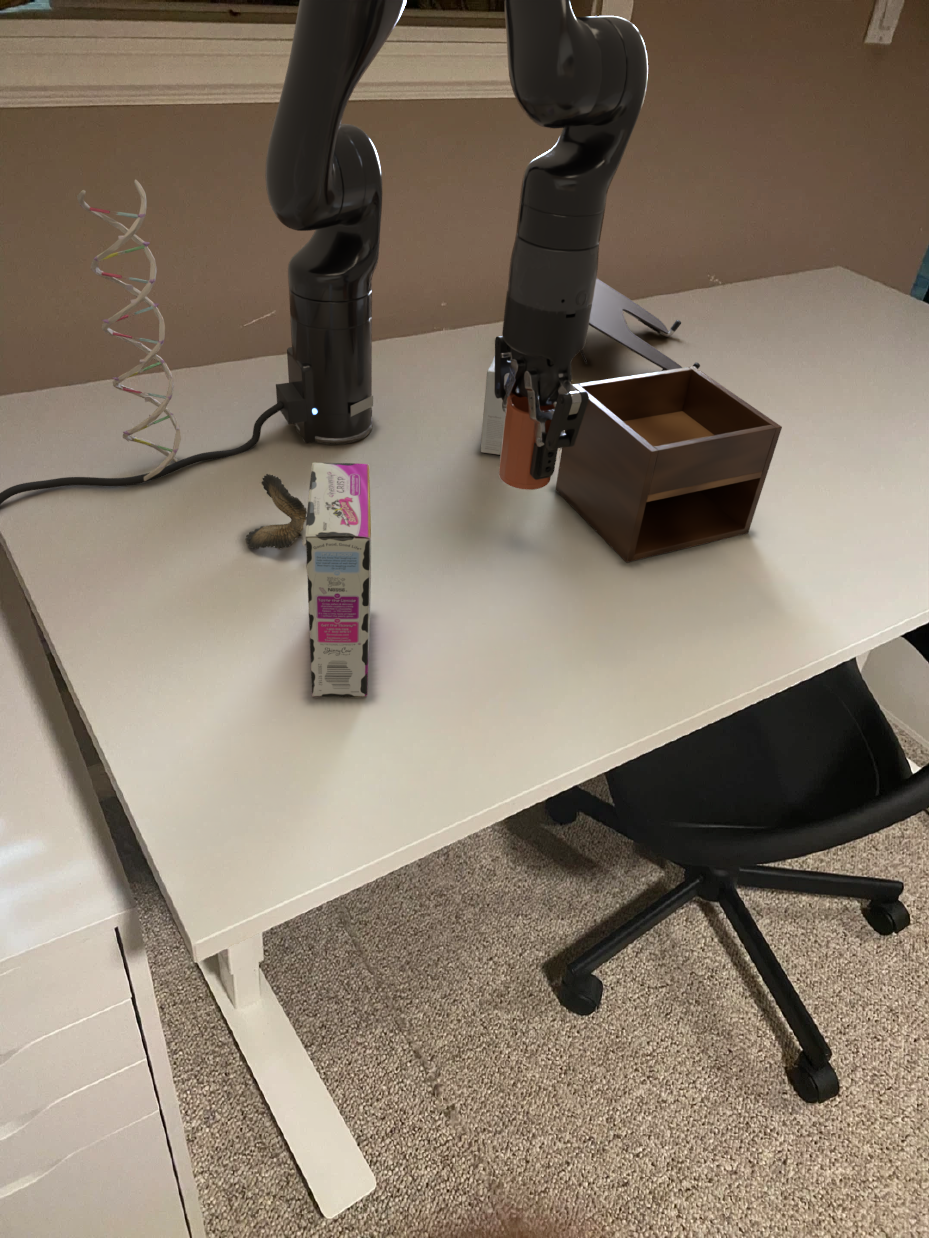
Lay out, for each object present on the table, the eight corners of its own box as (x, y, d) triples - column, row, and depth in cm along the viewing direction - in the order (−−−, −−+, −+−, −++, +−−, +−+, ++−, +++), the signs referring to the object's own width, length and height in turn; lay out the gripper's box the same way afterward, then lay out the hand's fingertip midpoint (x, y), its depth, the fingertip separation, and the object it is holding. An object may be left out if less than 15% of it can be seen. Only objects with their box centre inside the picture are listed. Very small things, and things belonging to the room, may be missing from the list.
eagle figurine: (347, 514, 96) (266, 486, 96) (345, 486, 89) (257, 456, 89) (321, 579, 94) (238, 551, 93) (317, 556, 87) (227, 525, 87)
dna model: (161, 452, 105) (116, 171, 86) (200, 471, 103) (162, 185, 83) (114, 474, 101) (54, 183, 82) (153, 494, 98) (101, 199, 79)
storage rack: (626, 562, 94) (651, 451, 86) (555, 490, 105) (571, 384, 96) (748, 533, 100) (782, 426, 92) (669, 467, 110) (693, 365, 102)
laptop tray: (664, 428, 131) (705, 376, 126) (529, 349, 124) (568, 291, 119) (642, 361, 149) (677, 313, 144) (523, 288, 141) (556, 236, 136)
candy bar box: (371, 699, 77) (371, 538, 66) (310, 700, 76) (301, 537, 66) (370, 614, 85) (370, 460, 75) (316, 614, 85) (308, 459, 74)
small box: (524, 460, 109) (535, 378, 103) (479, 453, 110) (486, 370, 103) (534, 430, 115) (544, 350, 109) (490, 423, 116) (498, 343, 109)
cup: (513, 494, 88) (523, 419, 83) (489, 466, 92) (497, 393, 86) (560, 485, 90) (572, 411, 85) (534, 458, 94) (545, 386, 88)
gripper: (475, 265, 82) (461, 432, 93) (553, 328, 73) (527, 506, 84) (547, 259, 85) (526, 422, 96) (631, 318, 75) (596, 493, 86)
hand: (526, 461), depth 90 cm, fingers closed on cup, 5 cm apart
